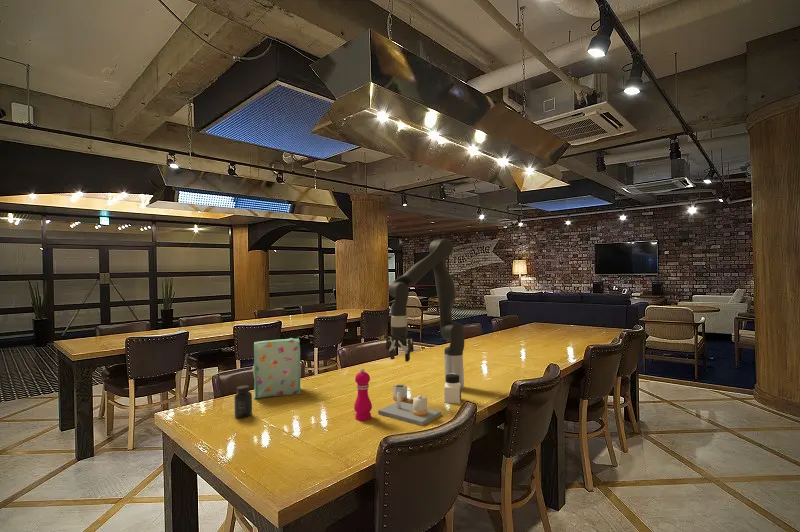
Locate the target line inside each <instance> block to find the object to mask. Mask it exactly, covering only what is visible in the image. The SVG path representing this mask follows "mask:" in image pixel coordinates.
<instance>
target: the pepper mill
mask: <svg viewBox="0 0 800 532" xmlns="http://www.w3.org/2000/svg"><path fill="white" fill-rule="evenodd" d="M370 380H371V376H370V374H369V373H368V372H366V371H365V368H363V367H362V368H361V369H360V372H358V373H357V374H356V375H355V378H354V382H355V383H356V389H357V396H356V398H355V402H354V405H353V410H354V411H355V415H354V417H355V419H356V420H357V421H361V422H364V421H368V420H370V419H371V418H372V413H371V411H372V410H373V406H372V401H371V399H370V396H369V388H370V385H369V382H370Z"/></svg>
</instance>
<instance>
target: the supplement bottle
mask: <svg viewBox="0 0 800 532" xmlns="http://www.w3.org/2000/svg"><path fill="white" fill-rule="evenodd" d="M233 400H234V401H233V403H234V404H233V405H234V406H233V407H234V417H235V418H236V419H245V418H244V417H246V418H249V417H251V416H252V414H253V394H252V393H251V392H250V385H245V384H244V385H240V386H237V387H236V394H234V398H233ZM250 415H251V416H250ZM248 416H249V417H248Z"/></svg>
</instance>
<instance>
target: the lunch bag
mask: <svg viewBox="0 0 800 532" xmlns="http://www.w3.org/2000/svg"><path fill="white" fill-rule="evenodd" d="M300 342H301V340H300V338H299V337H297V338H293V337H290V338H285V339H282V338H281V339H272V340H271V339H270V340H262V341H254V343H253V356H254V357H253V366H252V369H251V370H252V373H253V374H252V375H253V380H254V382H253V383H254V384H253V391H254V393H253V399H261V398H262V399H263V398H269V397H279V396H292V395H293V396H294V395H301V373H302V372H301V371H302V366H301V345H300Z"/></svg>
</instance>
